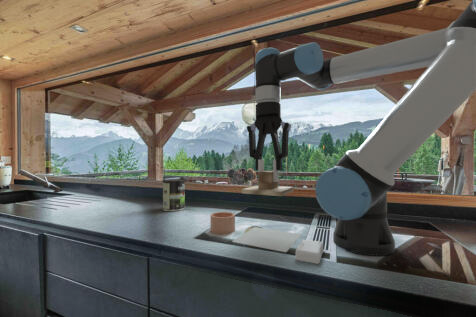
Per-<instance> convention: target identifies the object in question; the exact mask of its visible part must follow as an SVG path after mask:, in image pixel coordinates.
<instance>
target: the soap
mask: <svg viewBox="0 0 476 317" xmlns="http://www.w3.org/2000/svg"><path fill="white" fill-rule="evenodd" d="M323 253H324V243H323V242H322V241H320V240H311V239H310V240H309V239H304V238H303V239H302V240H301V241H300V242H299V244H298V246H297V248H296V249H295V260H298V261H301V262H306V263H307V262H308V263H312V264H318V265H319V264H320V263H321V258H322V256H323Z"/></svg>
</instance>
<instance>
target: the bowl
mask: <svg viewBox="0 0 476 317" xmlns="http://www.w3.org/2000/svg"><path fill="white" fill-rule="evenodd" d="M210 232H211V233H213V234H216V235H228V234H233V233H234V232H236V214H235V213H233V212H230V211H218V212H214V213H211V214H210Z"/></svg>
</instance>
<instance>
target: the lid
mask: <svg viewBox="0 0 476 317" xmlns="http://www.w3.org/2000/svg"><path fill="white" fill-rule="evenodd" d="M257 172H258V171H257ZM257 175H258V176H257V177H258V178H257V180H258V182H257V183H258V185H253V186H250V187H245V188H241V194H245V195H258V196H260V195H262V196H272V197H273V196H275V197H283V196H286V195H287V194H289V193H292V192H294V191H295V190H294V189H295V187H294V186H286V185H285V186H283V185H279V181H278V182H273V170H264V171H260V172H258V173H257Z"/></svg>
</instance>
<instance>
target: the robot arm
mask: <svg viewBox="0 0 476 317" xmlns="http://www.w3.org/2000/svg"><path fill="white" fill-rule="evenodd" d="M467 5H468V6H467V7H466V8H465V9H464V10H463V11H462V12H461V14H460V15H459V16H458V18H457V19H456V20H453V21H452V22H451V23H450V24H449V25H448V26H447V27H445V28H442V29H438V30H435V31H430V32H427V33H422V34H418V35H416V36H411V37H407V38H403V39H400V40H395V41H391V42H388V43H384V44H379V45H376V46H373V47H369V48H365V49H361V50H357V51H353V52H350V53H346V54H342V55H337V56H334V57H331V58H326V59H324V53H323V50H322V49H321V46H320V44H319V43H317V42H315V41H313V42H309V43H304V44H300V45H298V46H296V47H293V48H289V49H287V50H285V51H282V52H280V50H279V49H278V48H275V47H267V48H262V49H260V50H258V51H257V52H256V55H255V64H254V71H255V74H254V75H255V101H254V102H255V103H256V105H255V120H254V123H253V124H251V125H247V126H246V130H247V133H248V148H249V149H248V150H249V151H248V152H249V157H250V158H251V159H254V160H255V170H256V171H257V172H260V171H265V159H263V153H264V152H263V151H264V146H265V141H266V138H267V135H269V136H270V137H271V138H270V139H271V141H272V147H273V151H274V152H273V153H274V156H275V157H274V159H272V171H273V182H278V183H279V182H280V181H279V180H280V179H279V178H280V173H279V172H280V171H282V168H283V166H282V160H283V159H284V158H287V157H289V141H290V139H289V136H290V134H289V133H290V130H291V127H292V124H291V123H289V122H285V121H283V120H282V118H281V117H282V114H281V113H282V108H281V106H282V105H281V95H282V94H281V91H282V90H281V88H282V86H281V83H282V81H288V80H291V79H298V80H299V81H301V82H303V83H305V84H307V85H308V86H310V87H311V88H312V89H316V90H319V91H321V90H327V89H328V88H329V87H331V86H332V85H334V84H335V85H337V84H341V83H346V82H352V81H357V80H363V79H368V78H369V79H370V78H373V77H374V78H375V77H380V76H385V75H390V74H395V73H396V74H397V73H400V72H401V73H402V72H407V71H411V70H417V69H423V68H426V69H425V70H424V71H423V73H422V74H421V75H420V76H419V77H418V78H417V80H416V81H415V82H414V83H413V84H412V85H411V86H410V87H409V89H408V90H407V91H406V93H405V94H404V95H403V96H402V97H401V98H400V100H398V101H397V103H396V104H395V105H394V106H393V108H392V109H391V110H390V111H389V112H388V114H386V116H385V117H384V118H383V119H382V120H381V122H380V123H379V124H378V125H377V127H375V129H374V130H373V131H372V132H371V134H369V135H368V137H367V138H366V139H365V141H364V142H363V143H362V144H361V145H360V146H359V148H357V149H351V150H347V151H346V152H345V153H344V154H343V156H342V157H341V158H340V159H339V160H338V161H337V163H336V164H335V165H334V166H333V167H330V168H328V169H326V170H325V171H324V172H322V173H321V174H320V175H319V177H318V178H317V180H316V183H315V188H314V191H315V196H316V200H317V202H318V204H319V206H320V208H321V209H322V210H323V211H324V212H325V213H326V214H328V215H329V216H331V217H332V218H335V219H337V222H336V225H335V228H334V229H333V234H332V236H333V237H332V238H333V242H334V244H335V245H336V246H338V247H339V248H341V249H344V250H346V251H348V252H352V253H355V254H360V255H365V256H366V255H367V256H381V257H382V256H388V255H392V254H394V253H395V252H396V241H395V239H394V235H393V233H392V230H391V227H390V225H389V222H388V191H389V190H390V189H391V188H392V187H393V186H394V185H395V176H394V175H395V173H396V172H397V171H398V170H399V169H400V168H401V167H402V166H403V165H404V164H405V163H406V161H408V160H409V159H410V158H411V156H413V155H414V154H415V152H417V151H418V150H419V148H420V147H422V145H424V144H425V142H426V141H427V140H428V139H429V138H430V137H431V136H433V135H434V133H436V131H437V130H439V128H440V127H441V126H443V124H444V123H445V122H446V121H447V120H448V119H449V118H450V117H451V116H452V115H453V114H454V113H455V112H456V111H457V110H458V109H459V108H460V107H462V105H463V104H464V103H465V102H466V101H467V100H468V99H469V98H470V97H471V96H472V95H473V94H474V93H475V91H476V0H471V2H470V3H469V4H467ZM280 128H281V130H282V131H281V146H280V140H279V139H280V138H279V133H278V131H279V129H280ZM256 130H258V134H257V137H258V138H257V137H256ZM256 138H257V139H256Z"/></svg>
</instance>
